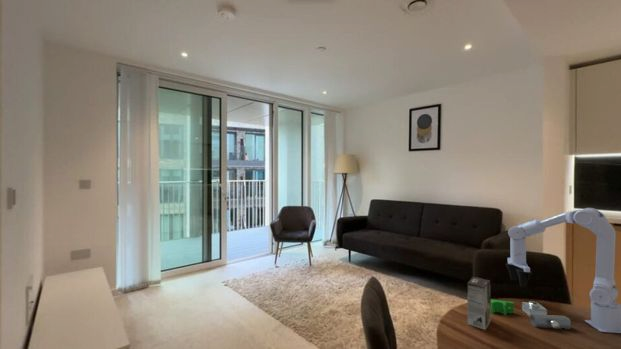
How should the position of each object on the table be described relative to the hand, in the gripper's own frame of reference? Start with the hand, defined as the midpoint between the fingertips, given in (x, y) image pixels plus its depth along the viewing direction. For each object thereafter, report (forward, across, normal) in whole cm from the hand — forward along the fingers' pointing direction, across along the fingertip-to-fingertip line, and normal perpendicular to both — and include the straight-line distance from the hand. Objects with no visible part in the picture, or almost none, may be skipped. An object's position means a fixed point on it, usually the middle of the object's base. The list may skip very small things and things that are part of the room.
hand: (518, 282), depth 131 cm
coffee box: (+8, +22, -25) cm, 34 cm away
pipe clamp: (+9, +12, -14) cm, 20 cm away
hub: (+8, +12, 0) cm, 14 cm away
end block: (+8, +22, 0) cm, 23 cm away
